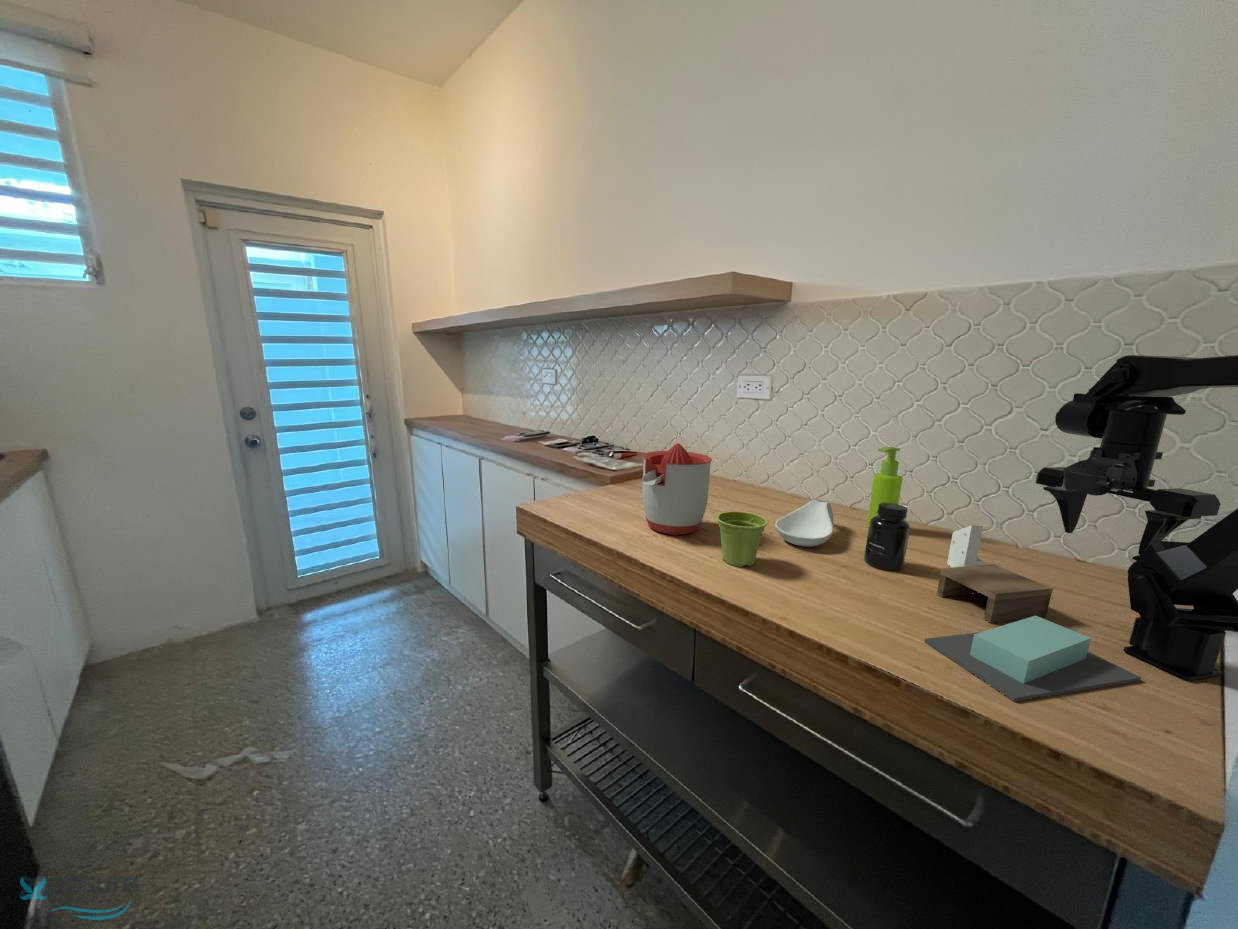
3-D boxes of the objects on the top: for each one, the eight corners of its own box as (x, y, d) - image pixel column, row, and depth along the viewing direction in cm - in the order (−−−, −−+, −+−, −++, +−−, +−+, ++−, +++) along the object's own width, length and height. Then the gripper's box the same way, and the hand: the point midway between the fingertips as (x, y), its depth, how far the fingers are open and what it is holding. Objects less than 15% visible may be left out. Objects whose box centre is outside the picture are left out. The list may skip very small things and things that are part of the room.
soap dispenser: (858, 526, 113) (870, 445, 109) (877, 523, 116) (889, 444, 112) (880, 534, 108) (893, 450, 104) (899, 530, 111) (913, 448, 107)
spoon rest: (823, 558, 93) (827, 524, 92) (765, 543, 100) (769, 512, 99) (847, 528, 112) (851, 500, 110) (797, 518, 119) (800, 491, 117)
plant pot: (757, 575, 84) (761, 530, 82) (707, 563, 88) (710, 520, 86) (767, 558, 92) (772, 516, 90) (721, 548, 96) (724, 508, 94)
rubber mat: (1140, 681, 57) (1141, 677, 57) (1013, 702, 53) (1014, 698, 53) (1035, 628, 68) (1036, 625, 68) (924, 642, 64) (924, 638, 64)
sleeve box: (1045, 616, 72) (1052, 588, 71) (990, 623, 70) (996, 594, 69) (988, 589, 81) (993, 564, 80) (936, 594, 78) (941, 568, 77)
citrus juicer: (620, 526, 107) (623, 441, 103) (670, 513, 119) (674, 436, 115) (671, 546, 96) (676, 452, 92) (720, 529, 107) (727, 445, 103)
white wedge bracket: (977, 573, 81) (971, 525, 84) (948, 578, 91) (944, 535, 93) (1000, 576, 81) (994, 527, 83) (969, 581, 90) (964, 536, 93)
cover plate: (1085, 658, 60) (1091, 638, 60) (1023, 683, 55) (1028, 661, 54) (1031, 634, 66) (1035, 615, 65) (969, 655, 60) (974, 634, 60)
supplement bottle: (863, 566, 89) (872, 507, 86) (863, 555, 95) (871, 499, 92) (904, 575, 86) (915, 513, 83) (902, 562, 92) (911, 504, 89)
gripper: (1019, 434, 75) (1000, 525, 78) (1177, 455, 57) (1145, 572, 60) (1071, 434, 77) (1051, 522, 80) (1238, 454, 59) (1204, 567, 63)
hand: (1103, 543), depth 71 cm, fingers open, 9 cm apart
